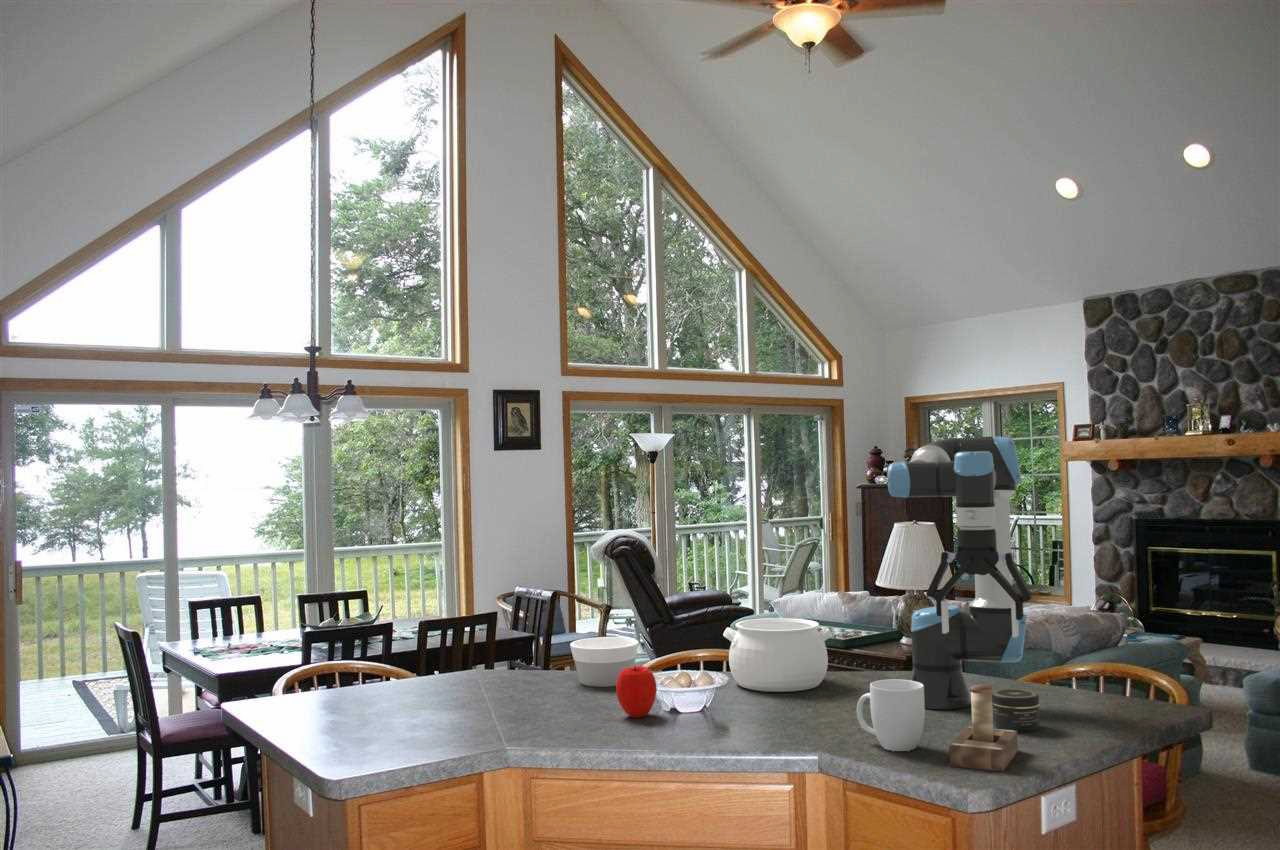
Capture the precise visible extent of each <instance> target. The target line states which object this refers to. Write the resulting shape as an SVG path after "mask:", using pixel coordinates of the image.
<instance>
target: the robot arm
mask: <svg viewBox="0 0 1280 850" xmlns="http://www.w3.org/2000/svg"><path fill="white" fill-rule="evenodd" d="M1016 448H1017V447H1016V442H1015V441H1014V440H1013V438H1011V437H1007V436H998V435H994V436H993V435H992V436H975V437H974V436H973V437H972V436H971V437H948V438H942V439H938V440H936V441H932V442H929V443H927V444H925V445H922V446H921V447H919V448H918V449H917V450H915V452H914V453H913V455H912V456H911V458H910V460H909V461H906V462H904V461H899V462H892V463H890V464H889V465H888V467H887V468H888V469H887V474H886V476H887V488H888V489H887V490H888V492H889V495H890V496H891V497H893V498H903V499H907V498H925V497H926V498H928V497H934V498H936V497H939V498H940V497H942V498H944V497H945V498H947V497H948V498H949V497H950V498H951V497H952V498H953V497H954V498H955V523H956V526H957V527H958V528H959V529H957V530H956V543H957V545H956V547H957V548H956V549H957V550H956V552H950V551H948V550H945V551H943V552H941V556H940V564H939V566H938V567H937V570H936V572H935V573H934V576H933V579H932V581H931V582H930V584H929V587H928V588H927V591H926V594H925V595H926V597H929V598H931V599H934V600H935V606H929V607H924V608H920V609H918V610H915V611H914V612H913V613H912V615H911V627H910V632H911V643H912V644H911V647H912V672H911V676H910V679H909V680H911V681H916V682H919V683H922V684H923V685H924V702H925V709H929V710H956V709H957V710H958V709H963V708H967V707H969V706H971V691H970V690H969V687H968V684H967V682H966V679H965V675H964V673H963V662H981V663H983V662H986V663H988V662H989V663H990V662H991V663H1000V664H1003V663H1018V662H1020V661H1021V660H1022V659H1023V655H1024V647H1025V638H1026V637H1025V636H1026V630H1027V629H1026V628H1027V627H1026V626H1027V613H1024V603H1026V602H1028V601H1031V600H1032V599H1033V597H1034V596H1033V594H1032V592H1031V591H1032V590H1030V588H1029V586H1028V584H1027V582H1026V581H1025V579H1024V577H1023V575H1022V574H1021V571H1020V570H1019V568H1018V567H1017V565H1016V562H1015V555H1014V553H1013V552H1012V539H1011V513H1010V512H1011V511H1010V507H1011V506H1010V499H1011V497H1012V496H1013V495H1014V494H1016V485H1017V486H1018V485H1020V484H1022V475H1021V469H1020V463H1019V458H1018V453H1017V449H1016ZM954 560H955V561H956V562H957V563H958V564H959V567H958V568H957V569H956V570H955V572H954V574H953V575H952V576H951V577H950V578H949V579H948V581H947V582H946V583H945V584H944V586H943V587H941V589H940V590H939V591H938V588H939V586H940V584H941V582H942V580H943V578H944V575H945V574H946V571H947V569H948V567H949V565H950V564H951V563H952V562H953V561H954ZM965 574H967V575H968V576H969V575H970V576H974V585H975V586H974V591H975V592H974V595H975V596H974V597H975V598H974V599H973V600H972V601H971V602H970V603H969V604H968V605H969V606H968V609H969V611H966V612H965V611H962V609H961V607H960V606H959V605H955V604H953V605H949V599H945V597H946V596H947V595H948V593H950V591H951V590H952V589H953V588H954V586H955V585H956V584H957V583H958V581H960V580H961V578H962V577H963V576H964V575H965ZM1013 580H1014V582H1015V584H1016V586H1017V587H1018V590H1019V591H1018V590H1017V589H1016V588H1015V587H1014V586H1013ZM1019 592H1020V593H1021V594H1020V593H1019Z"/></svg>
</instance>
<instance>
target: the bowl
mask: <svg viewBox="0 0 1280 850" xmlns="http://www.w3.org/2000/svg"><path fill="white" fill-rule="evenodd" d="M639 644H640V642H639V640H637V639H634V638H630V637H619V636H599V637H597V636H596V637H588V638H581V639H578V640H574V641H572V642H571V643H570V644H569V646H570V650H571V655H572V657H573V661H574V664H575V668H576V669H575V670H576V673H577V675H578V679H579V682H580V684H582V685H583V686H587V687H588V686H589V687H599V688H600V687H616V682H617V678H618V676H619V673H620V672H621V671H622V670H623V669H626V668H631V667H634V666H635V661H636V657H637V654H638V648H639Z"/></svg>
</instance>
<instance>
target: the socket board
mask: <svg viewBox="0 0 1280 850" xmlns="http://www.w3.org/2000/svg"><path fill="white" fill-rule="evenodd" d="M993 738H994V742H984V741H974V740H973V737H972V725H971V726H969V725H967V726H965V728H963V730H962V731H961V732H960V733H959V734H958V735H957V736H956V737H955V738H954V739H953V740H952V742H950V743H949V745H948V746H949V747H948V750H949V753H948V754H949V766H951V767H959V768H967V769H976V770H984V771H985V770H986V771H992V772H993V771H994V772H1004V771H1005V770H1006V768H1007V767H1008V766H1009V764H1010V763H1011V761H1012V759H1014V757H1015V756H1016V754H1017V753H1018V751H1019V750H1018V749H1019V746H1018V745H1019V743H1018V732H1017V731H1013V730H1003V729H998V728H993Z"/></svg>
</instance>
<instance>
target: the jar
mask: <svg viewBox="0 0 1280 850" xmlns="http://www.w3.org/2000/svg"><path fill="white" fill-rule="evenodd" d="M992 709H993V726H995V728H996V729H1003V730H1013V731H1017V733H1031V732H1036V730H1037V729H1038V728H1039V725H1040V698H1039V694H1038V693H1037V692H1035V691H1032V690H1028V689H1022V688H1021V689H1020V688H1000V689H999V688H998V689H995V690H994V691H993V690H992Z"/></svg>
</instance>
